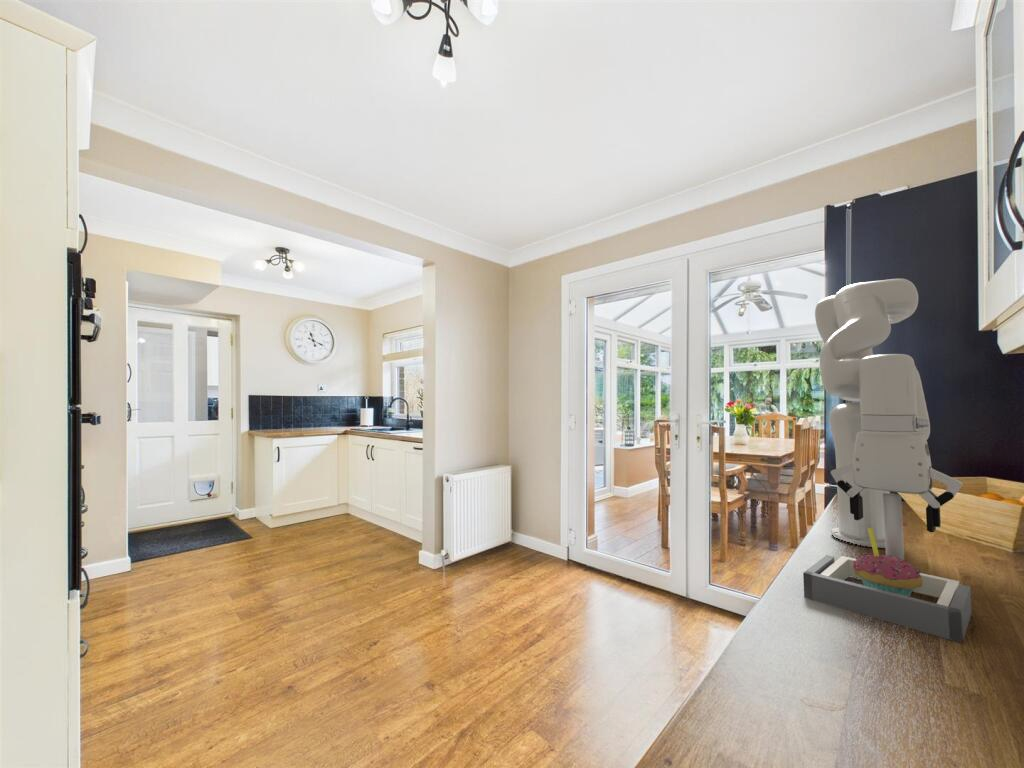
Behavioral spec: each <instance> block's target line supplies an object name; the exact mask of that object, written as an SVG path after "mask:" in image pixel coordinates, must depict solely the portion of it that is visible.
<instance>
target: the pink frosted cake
mask: <svg viewBox="0 0 1024 768" xmlns="http://www.w3.org/2000/svg"><path fill="white" fill-rule="evenodd" d="M867 524H868V523H867ZM868 527H869V528H868V532H869V536H870V540H871V544H872V547H871V548H872V552H873V553H870V554H864V555H862V556H858V557H856V558H855V559H856V561H854V562H853V568H854V571H855V574H856V575H859V576H860V578H861V579H860V578H859V579H860V580H861V582H862V585H864V586H868V587H872V588H876V589H880V590H884V591H888V592H892V593H896V594H900V595H904V596H908V597H911V595H912V592H913V590H914V589H915V588H918V587H921V586H922V584H923V580H922V577H921V575H920V573H921V572H920V570H918V569H917V567H915V566H913V564H912V563H910V562H907V561H906V560H905V559H904V560H902V559H899V558H898V557H896V558H895V557H892V556H889V555H888V556H887V555H886V553H885V554H880V553H879V548H877V544H876V540H875V536H874V532H873V529H872V528H870V525H869V524H868Z"/></svg>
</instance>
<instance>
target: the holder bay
mask: <svg viewBox="0 0 1024 768" xmlns="http://www.w3.org/2000/svg"><path fill="white" fill-rule="evenodd" d="M835 561H836V560H835V556H833V555H829V554H826V555H824V556H823V557H822V558H821V559H819V560H818V561H817V562H815V563H814V564H812V565H811V566H810V567H809V568H807V569H806V570H805V571H804V572H803V573H802V574H803V575H802V576H803V579H802V580H803V598H804V599H810V600H812V601H817V602H819V603H823V604H826V605H830V606H834V607H837V608H840V609H843V610H846V611H849V612H854V613H858V614H861V615H864V616H868V617H872V618H874V619H878V620H881V621H885V622H888V623H891V624H895V625H899V626H902V627H905V628H908V629H913V630H916V631H919V632H922V633H926V634H929V635H933V636H935V637H936V636H937V637H940V638H943V639H947V640H949V641H954V642H957V643H960V642H961V643H960V644H963V643H964V642H963V641H964V640H963V639H964V638H965V636H966V634H967V633H966V632H967V629H968V626H969V623H970V621H971V618H972V617H971V616H972V614H973V612H972V611H973V609H972V592H971V586H969V585H965V584H960V583H959V586H958V588H957V590H956V593H955V595H954V597H953V600H952V602H951V604H950V607H948V606H944V605H940V604H937V602H936V603H935V602H931V601H927V600H923V599H920V598H916V597H912V596H910V597H908V596H904V595H900V594H896V593H892V592H888V591H884V590H880V589H876V588H872V587H868V586H864V584H860V583H856V582H852V581H847V580H840V579H836V578H832V577H828V576H824V575H820V574H821V573H822V572H823V571H824V570H826V569H827V568H828V567H829V566H830V565H832V564H833V563H834V562H835ZM962 642H963V643H962Z"/></svg>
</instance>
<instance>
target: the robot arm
mask: <svg viewBox="0 0 1024 768" xmlns="http://www.w3.org/2000/svg"><path fill="white" fill-rule="evenodd" d="M918 305H919V293H918V290H917V287H916V286H915V284H914V283H913V282H912V281H910V280H908V279H906V278H890V279H882V280H872V281H865V282H864V281H863V282H856V283H853V284H849V285H846V286H844V287H842V288H841V289H839V291H837V292H836V294H833V295H830V296H827V297H825V298H823V299H821V300H820V301H818V302H817V304H816V306H815V311H814V317H815V323H816V327H817V331H818V333H819V336H820V337H821V339H822V342H823V343H824V344H823V346H822V348H821V349H820V354H819V370H820V377H821V383H822V385H823V388H824V390H825V392H827V394H828V395H830V396H833V397H837V398H839V399H840V400H844V401H850V402H845V403H840V404H838V405H836V406H834V407H833V408H832V409H831V411H830V413H829V425H830V430H831V435H832V439H833V444H834V445H833V446H834V452H835V453H834V454H835V466H836V467H835V468H836V469H832V470H831V471H830V475H831V476H832V478H833V479H834V481H835V482H836V487H837V489H836V491H837V512H838V513H837V516H838V527H833V528H832V529H830V534H831V533H832V534H833V535H834V536H835V537H837V538H839V539H842V540H844V541H847V542H850V543H849V544H851V543H853V544H852V545H855V544H857V546H860V545H861V546H862V547H866V546H867V548H872V544H871V540H870V536H869V532H868V528H869V527H868V524H869V525H870V528H872V529H873V532H874V536H875V540H876V544H877V549H885V529H884V508H883V494H884V493H890V494H891V492H894V493H901V494H908V495H909V494H910V495H919V496H920V497H921V498H922V499H923V500H924V501H925V502H926V503H927V506H926V507H925V518H926V520H925V521H926V531H928V532H929V533H935V531H936V530H937V528H941V526H942V525H941V507H942V506H943V505H945V504H946V503H948V502H950V501H951V500H953V499H954V498H955V496H956V495H957V493H958V492H959V491H960V490H961V488H962V487H963V481H961V480H958V479H956V478H953V477H951V476H949V475H948V474H945V473H943V472H941V471H938V470H936V469H934V468H933V467H932V461H931V454H930V449H929V448H930V447H929V445H928V441H927V440H928V439H929V438H930V435H931V423H930V417H929V412H928V408H927V402H926V398H925V393H924V389H923V384H922V379H921V376H920V372H919V370H918V369H917V367H916V364H915V360H914V359H913V357H912V356H910V355H909V354H904V353H887V354H886V353H884V354H874V353H873V348H875V347H877V346H879V345H881V344H882V343H883V342H885V341H886V340H887V339H888V337H889V336H890V334H891V331H892V325H893V324H897V323H900V322H902V321H904V320H907V318H909V317H911V316H912V315H913V314H914V313H915V312H916V310H917V308H918ZM934 480H935V481H937V482H940V483H942V484H944V485H946V487H947V488H946V489H945V491H944V492H942V493H941V494H940V495H937V494H935V493H934V491H932V489H933V487H934V486H933V485H934ZM867 523H868V524H867ZM844 541H843V542H844ZM847 542H846V543H847Z"/></svg>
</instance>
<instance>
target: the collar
mask: <svg viewBox="0 0 1024 768" xmlns="http://www.w3.org/2000/svg"><path fill="white" fill-rule="evenodd" d="M902 506H903V505H902V494H897V493H891V492H890V493H884V494H883V508H884V529H885V548H884V550H885V555H887V556H888V555H889V556H892V557H895V558H896V557H898V558H899V559H902V560H904V561H905V551H904V550H905V548H904V528H903V507H902ZM854 561H856V558H853V557H849V556H843V555H841V556H840V557H839V558H837V559H836V560H835V562H834V563H833V564H832V565H830V566H829V567H828V568H827V569H826V570H824V571H823V572H822V573H821V574H820V575H824V576H828V577H832V578H836V579H840V580H844V581H846V579H847V578H849V577H852V578H857V579H860V580H861V578H860V576H859V575H856V574H855V571H854V568H853V562H854ZM920 575H921V577H922V580H923V584H922V586H921V587H918V588H915V589H914V590H913V591H912V592H914V593H918V594H922V595H926V596H929V597H933V598H938V599H937V602H936V604H940V605H944V606H948V607H950V604H951V602H952V600H953V597H954V595H955V593H956V590H957V588H958V586H959V584H960V581H959V580H955V579H949V578H946V577H942V576H941V577H940V576H937V575H933V574H927V573H923V572H920Z"/></svg>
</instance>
